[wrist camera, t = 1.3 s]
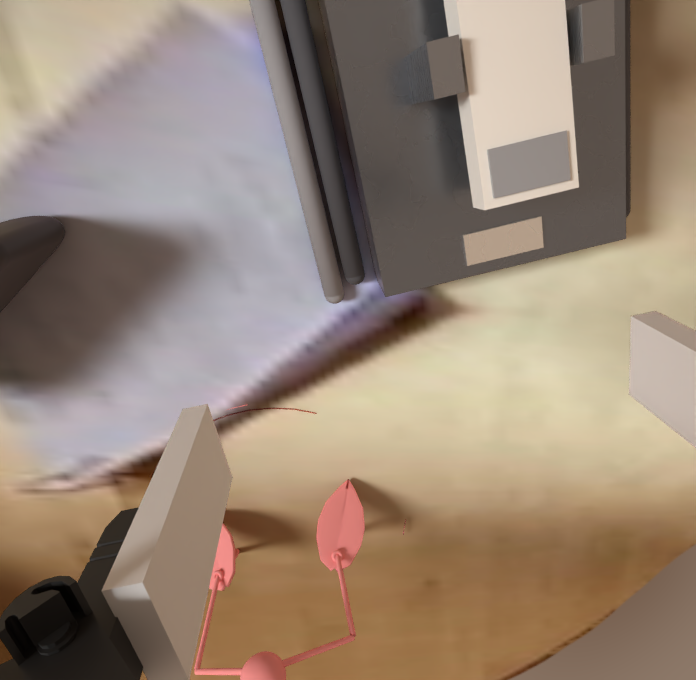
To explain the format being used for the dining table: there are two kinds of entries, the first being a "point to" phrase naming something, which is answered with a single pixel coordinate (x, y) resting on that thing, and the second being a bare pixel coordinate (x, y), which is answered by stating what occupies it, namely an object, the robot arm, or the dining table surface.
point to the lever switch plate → (448, 145)
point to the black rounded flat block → (25, 251)
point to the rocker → (515, 98)
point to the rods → (331, 138)
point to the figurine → (335, 552)
